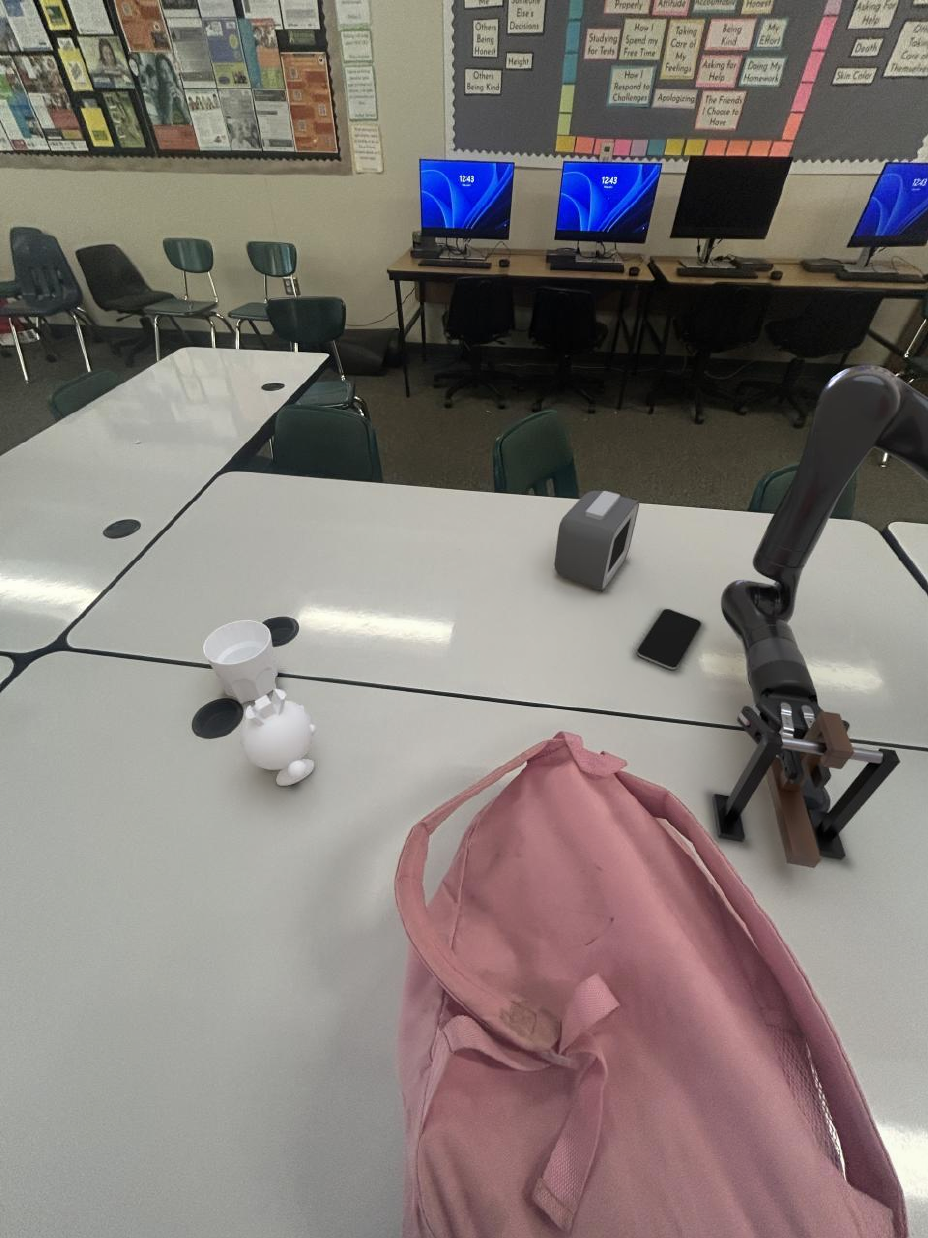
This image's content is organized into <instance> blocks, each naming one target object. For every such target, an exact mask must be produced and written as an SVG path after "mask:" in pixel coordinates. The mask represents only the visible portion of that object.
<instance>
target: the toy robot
mask: <svg viewBox="0 0 928 1238" xmlns="http://www.w3.org/2000/svg"><path fill="white" fill-rule="evenodd" d="M272 691H273V692H272V697H271V700H270V699H269V696H268V694H266V695H265V696H263V697H261V698H259V699H258V700H254V703H255V704H254V705H253V706H252V705H251V704H249V705H248V706H247V708H246V709H245V713H244V714H245V717H246V718H245V719H244V721H243V724H242V726H241V734H240V741H239V743H240V745H241V747H242V749H243V750H242V751H243V753H244V755H245V757H246V759H247V760H248V761H250V762H251V763H252V764H253V765H255V766H257V767H259V768H261V769H264V770H268V771H275V770H276V771H277V770H279V772H278V773H277V775H276V779H275V781H276V784H277V785H278V786H280V787H285V786H286V787H287V786H291V785H293V784H296V783H299V782H301V781H302V780H304V779H305V778H307V777H308V776H309V775H310V774H311V773H312V772H313V770H314V768H315V762H314V761H313V760H311V759H308V758H304V756H305V755H306V754H307V753H308V752H309V749H310V747H311V745H312V742H313V739H314V734H315V733H316V731H317V727H316V725H314V724H313V722H312V718H311V717H310V714H309V712H308V711H307V710H306V708H305V706H304V705H302V704H301V705H299V704H298V703H297V702H295V701H292V700H287V694H286V692H285V691H284V690H283V689H280V688H277V689H274V690H272Z"/></svg>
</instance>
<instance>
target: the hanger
mask: <svg viewBox="0 0 928 1238" xmlns="http://www.w3.org/2000/svg"><path fill="white" fill-rule="evenodd" d="M842 720H843V719H842V716H841V714H840V713H838V712H832V711H831V712H830V711H824V710H823V711H821V712H820V713H819V715H818V716H817V718H816V720H815V721H814V723H813V724H812V726H811V727H810V729H809V730H808V732H807V733H806V735H805V736H804V738H803V740H809V741H816V742H822V743H826V746H827V750H826V752H825V753H824V754H823V755H818V754H812V753H805V752H799V751H797V752H798V755H799V759H800V761H801V764H802V768H803V771H804V778H803V780H802V781H801V783H800V784H799V785H795V784H791V782H790V779H787V778H786V776H785V775H784V771H783V767H782V763H781V759H780V758H779V757H778V756H776V757H775V759H774V761H773V762H772V764H771V766H770V767H769V769H768V771H767V772H766V774H765V776H766V779H767V784H768V789H769V792H770V797H771V801H772V805H773V809H774V815H775V818H776V822H777V826H778V831H779V835H780V839H781V843H782V848H783V852H784V855H785V860H786V863H787V864H790V865H795V866H801V867H807V868H812V869H815V868H816V867H817V865H818V864H819V863H820V862H821V861H822V858H821V855H820V854H819V851H818V847H817V844H816V840H815V837H814V833H813V830H812V826H811V823H810V819H809V816H808V812H807V810H808V809H807V805H806V802H805V798H804V795H803V791H802V787H803V786H804V785H805V783H806V782H807V780H808V779H809V778H810V777H811V773H812V772H813V770H814V769H815V768H816V766H817V765H818V764H819V762H820V761H821V764H822V766H823V767H829V769H831V768H832V769H837V770H842V769H843V768H844V767H845V765H846V764H847V762H848V761H849V760H851V759H850V758H851V756H852V755H853V754H854V750H853V747H854V746H853V745H852V743H851V739H850V737H849V735H848V731H847V732H846V729H845V727H844V724H843V721H842Z"/></svg>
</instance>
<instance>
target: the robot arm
mask: <svg viewBox="0 0 928 1238" xmlns="http://www.w3.org/2000/svg"><path fill="white" fill-rule="evenodd" d="M873 449H877V450H878V451H880V452H883V453H885V454H887V455H889V456H891V457H893V458H895V459H897V460H898V461H900V462H902V463H903V464H904V465H906V466H907V467H909V468H910V469H911V470H912V471H914V472H915V473H916V474H917V475H918V476H919V477H921V478H922V480H924V481H925V483H927V484H928V397H927V396H925V394H923V393H921V392H920V391H918V390H917V389H915V388H914V387H912V386H911V385H909V384H908V383H907V382H905V381H904V380H903V379H901V378H900V377H899V376H897V375H895V374H894V373H893V372H892V371H890V370H889V369H887V368H884V367H882V366H879V365H873V364H860V365H856V366H852V367H849V368H845V369H844V370H842V371H840V372H838V373H837V374H836V375H834V376H833V377H832V378H830V380H829V381H828V382H827V383H826V384H825V385H824V387H823V388H822V390H821V392H820V393H819V395H818V396H817V399H815V403H814V405H813V409H812V420H811V423H810V428H809V431H808V435H807V438H806V442H805V446H804V449H803V453H802V456H801V458H800V461H799V464H798V467H797V469H796V472H795V474H794V476H793V477H792V478H793V479H792V480H791V483H790V485H789V487H788V488H787V490H786V492H785V494H784V495H783V497H782V499H781V500H780V503H779V504H778V506H777V508H776V510H775V512H774V513H773V515H772V517H771V519H770V521H769V523H768V525H767V527H766V528H765V531H764V533H763V535H762V537H761V540H760V542H759V543H758V546H757V548H756V550H755V552H754V555H753V558H752V567H753V569H754V570H755V571H756V572H757V573H758V574H759V575H761V576H763V577H765V578H767V579H769V580H772V581H774V582H773V584H769V583H766V582H765V583H764V582H758V581H752V580H747V579H738V580H734V581H731V582H730V583H729V584H727V585H726V587H725V588H724V590H723V591H722V594H721V597H720V609H721V610H720V611H721V613H722V616H723V618H724V620H725V622H726V624H727V625H728V626H729V628H730V629H731V631H732V632H733V634H734V635H735V636H736V638H737V639H738V640H739V641H740V643H741V644H742V649H743V653H744V657H745V664H746V665H745V666H746V676H747V679H748V681H749V685H750V686H749V687H750V690H751V693H752V699H753V703H754V705H755V706H754V707H751V706H749V705H744V706H743V707H742V708H741V711H740V713H739V715H738V716H737V718H736V721H737V723H738V724H739V725H740V726H741V727H742V728H743V729H744V731H745V732H746V733H747V734H748V735H749V737H750V738H751V739H752V740H753V741H754V742H755V744H756V745H757V746H758V744H759V742H760V741H761V739H762V737H763V735H764V734H765V732H766V731H769V732H776V733H781V736H782V737H789V738H796V739H802V740H803V738H804V736H805V735H806V733H807V732H808V730H809V729H810V727H811V726H812V724H813V723H814V721H815V720H816V718H817V716H818V715H819V713H820V712H821V711H824V709H822V707H820V705H819V701H818V694H817V691H816V688H815V685H814V683H813V680H812V677H811V673H810V670H809V669H808V666H807V663H806V660H805V658H804V656H803V654H802V652H801V651H800V649H799V646H798V644H797V641H796V638H795V635H794V633H793V630H792V628H791V625H789V624H788V622H789V621H790V620H791V619H792V617H793V614H794V611H795V607H796V600H797V593H798V589H799V584H800V581H801V576H802V574H803V573H802V572H803V570H804V568H805V566H806V564H807V563H808V561H809V558H810V557H811V555H812V554H813V551H814V550H815V548H816V546H817V544H818V543H819V540H820V538H821V536H822V535H823V532H824V530H825V528H826V526H827V523H828V521H829V519H830V517H831V515H832V513H833V511H834V509H835V508H836V504H837V503H838V501H839V498H840V497H841V495H842V494H843V492H844V490H845V488H846V487H847V485H848V484H849V481H850V480H851V479H852V477H853V476H854V474H855V473H856V471H857V470H858V468H859V467H860V466H861V464H862V463H863V462H864V460H865V459H866V458H867V456H868V455H869V454H870V453H871V452H872V450H873ZM842 721H843V724H844V727H845V729H846V732H847V733H848V732H849V729H850V726H851V725H850V722H848V721H847V720H845V719H842ZM776 757H779V758H780V759H781V763H782V767H783V771H784V775H785V776H786V778H787V779H790V782H791V784H795V785H799V784H800V783H801V781H802V780H803V778H804V771H803V768H802V764H801V761H800V759H799V755H798V752H797V751H792V750H786V749H780V751H779V752H778V754H777V756H776ZM810 779H811V781H812V785H813V787H814V788H815V789H819V790H823V789H824V787H825V786H826V785H827V784H829V783H828V782H830V780H831V779H832V774H831V770H830V767H823V766H822V764H821V761H820V762H819V764H818V765H817V766H816V768H815V769H814V770H813V772H812V773H811V775H810Z"/></svg>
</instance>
